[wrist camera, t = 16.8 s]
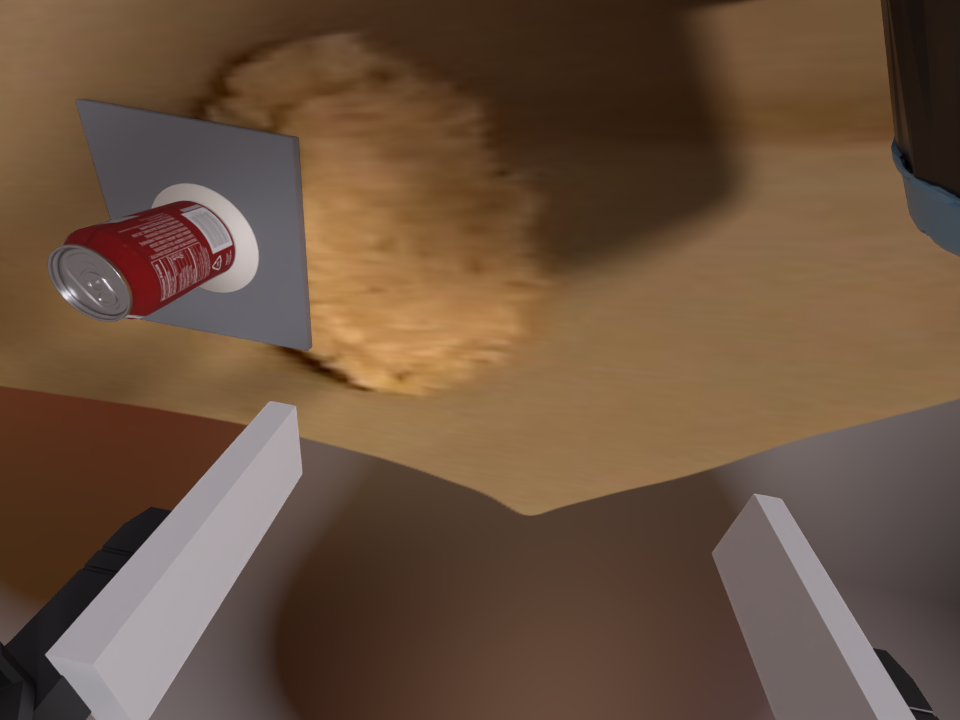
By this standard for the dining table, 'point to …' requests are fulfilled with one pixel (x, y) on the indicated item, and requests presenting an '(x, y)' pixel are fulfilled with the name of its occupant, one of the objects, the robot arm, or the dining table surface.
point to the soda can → (141, 260)
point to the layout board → (228, 192)
